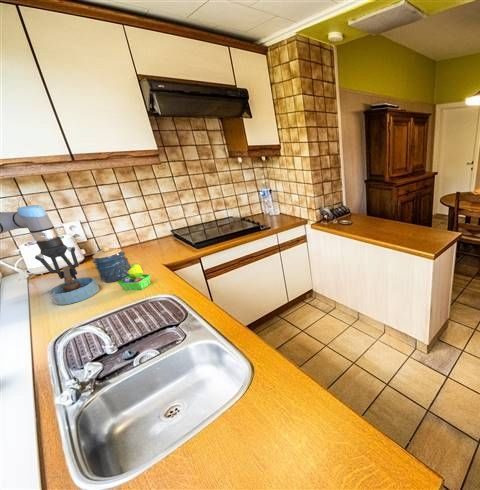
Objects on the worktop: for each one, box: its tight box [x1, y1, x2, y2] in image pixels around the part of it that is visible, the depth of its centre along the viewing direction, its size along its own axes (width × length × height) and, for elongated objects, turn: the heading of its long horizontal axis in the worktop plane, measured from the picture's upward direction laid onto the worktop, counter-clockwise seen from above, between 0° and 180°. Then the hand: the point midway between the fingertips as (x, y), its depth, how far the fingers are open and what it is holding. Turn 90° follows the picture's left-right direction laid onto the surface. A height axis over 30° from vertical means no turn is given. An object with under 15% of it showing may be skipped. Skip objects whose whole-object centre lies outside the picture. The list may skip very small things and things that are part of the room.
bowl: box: [48, 276, 100, 306], centre depth 126 cm, size 15×15×6 cm
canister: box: [91, 246, 132, 283], centre depth 140 cm, size 13×13×18 cm
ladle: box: [61, 265, 82, 293], centre depth 129 cm, size 24×6×6 cm, turn 48°
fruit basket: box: [116, 263, 151, 291], centre depth 130 cm, size 11×9×11 cm
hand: (72, 282), depth 132 cm, fingers closed on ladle, 2 cm apart
